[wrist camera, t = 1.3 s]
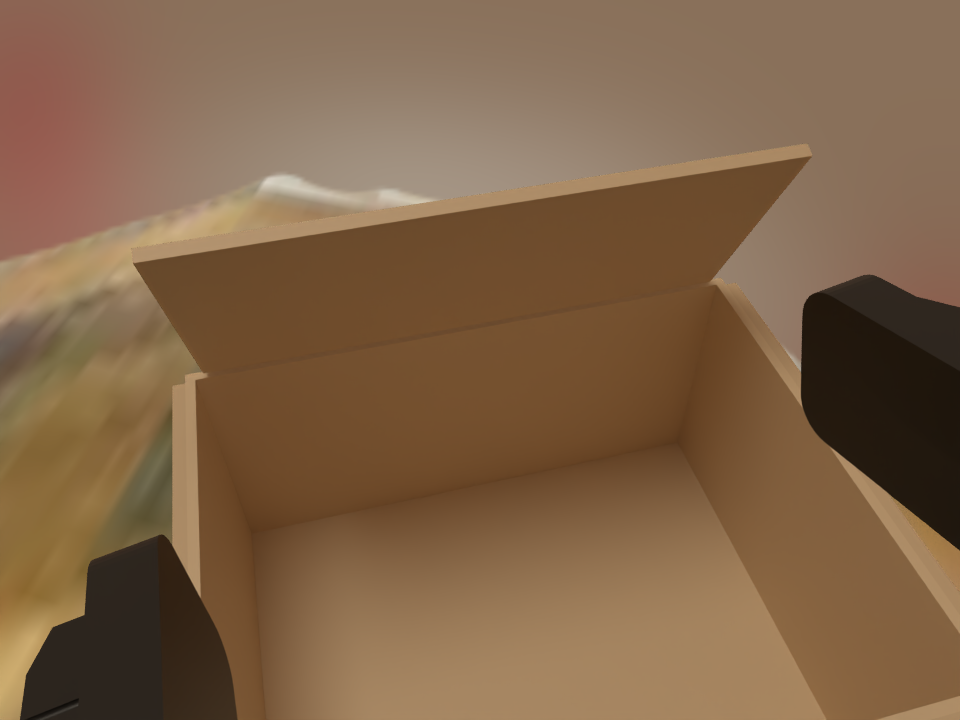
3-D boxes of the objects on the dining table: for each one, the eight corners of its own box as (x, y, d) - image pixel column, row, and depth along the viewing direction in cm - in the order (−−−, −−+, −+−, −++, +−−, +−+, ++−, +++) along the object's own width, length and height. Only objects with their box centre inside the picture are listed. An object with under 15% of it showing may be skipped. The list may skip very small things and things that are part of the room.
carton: (265, 1028, 29) (172, 962, 21) (235, 537, 43) (172, 377, 35) (902, 830, 34) (1042, 707, 25) (687, 440, 47) (730, 276, 39)
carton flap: (133, 262, 25) (130, 245, 25) (203, 373, 34) (201, 360, 35) (812, 155, 29) (806, 140, 29) (710, 281, 38) (705, 269, 38)
